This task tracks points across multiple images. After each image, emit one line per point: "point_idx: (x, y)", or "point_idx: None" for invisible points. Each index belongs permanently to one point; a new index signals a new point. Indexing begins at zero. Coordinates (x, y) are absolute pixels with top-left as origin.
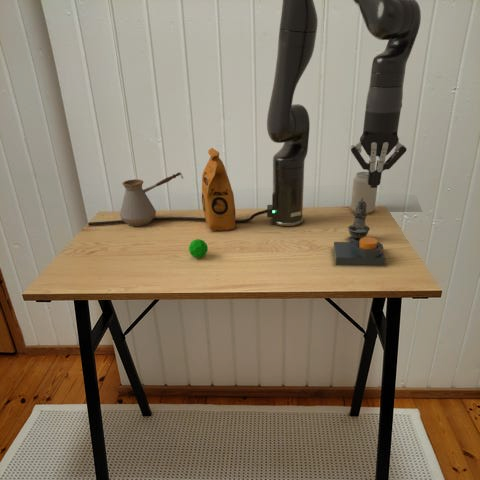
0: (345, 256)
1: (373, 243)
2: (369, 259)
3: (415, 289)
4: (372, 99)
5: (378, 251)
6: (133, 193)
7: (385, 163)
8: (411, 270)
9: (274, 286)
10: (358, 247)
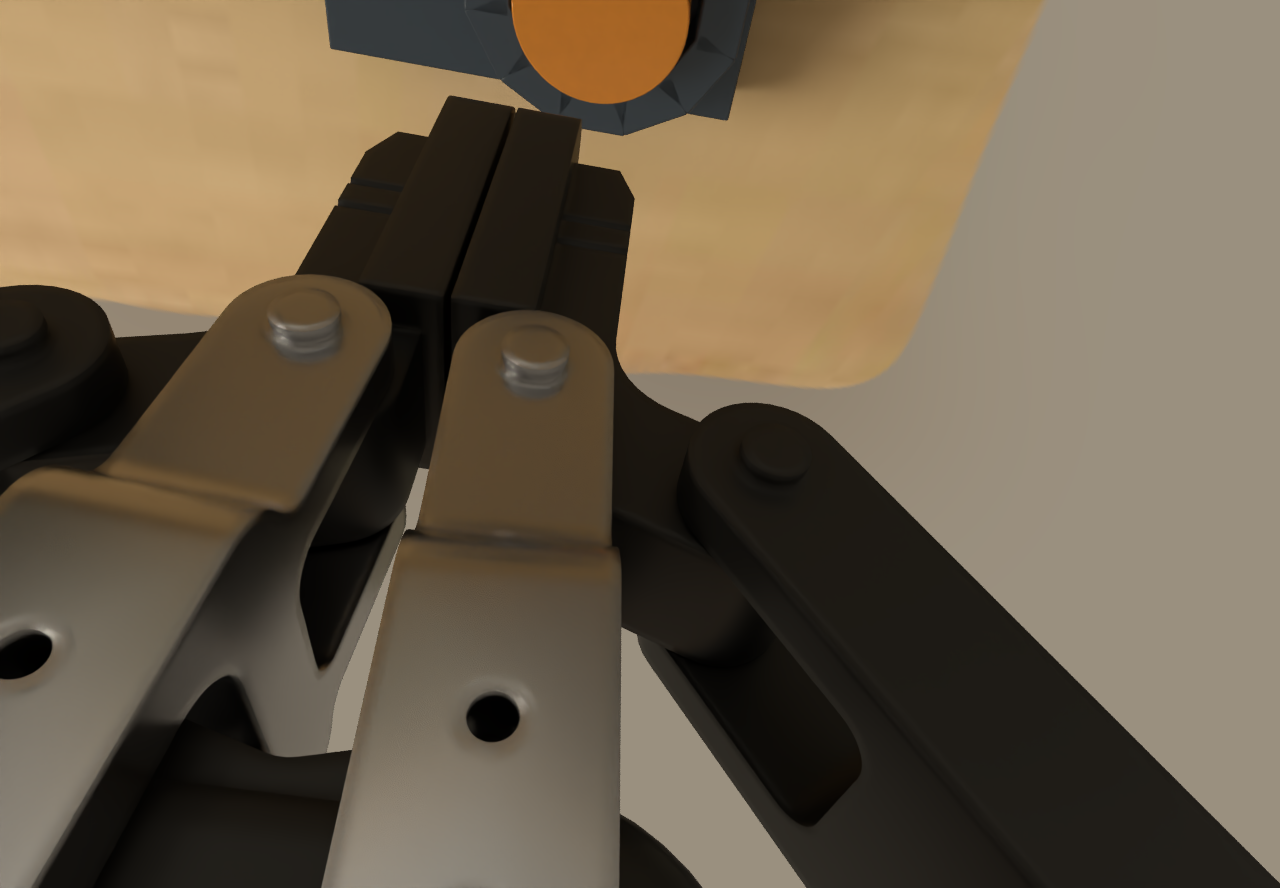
0: (408, 41)
1: (627, 98)
2: None
3: (784, 381)
4: None
5: (671, 115)
6: None
7: (668, 601)
8: (889, 181)
9: (11, 254)
10: (506, 32)
